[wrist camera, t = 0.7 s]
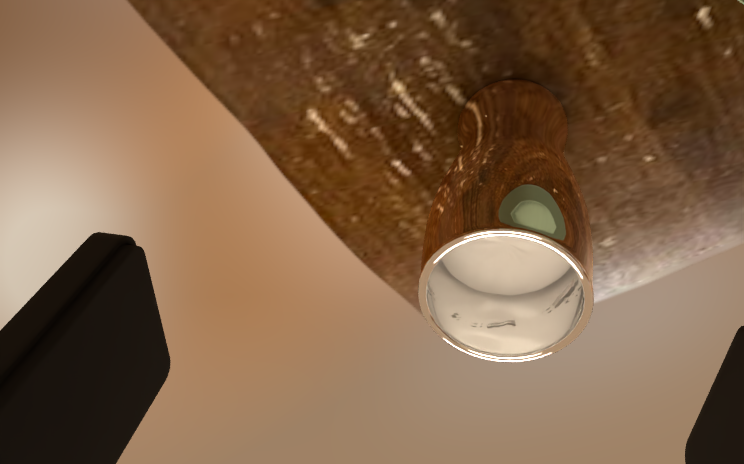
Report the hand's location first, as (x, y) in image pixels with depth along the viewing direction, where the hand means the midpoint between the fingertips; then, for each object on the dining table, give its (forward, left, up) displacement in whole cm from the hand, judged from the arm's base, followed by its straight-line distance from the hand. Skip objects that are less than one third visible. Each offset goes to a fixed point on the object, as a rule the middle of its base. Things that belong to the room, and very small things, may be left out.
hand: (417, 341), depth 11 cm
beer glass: (+7, +6, -27) cm, 28 cm away
